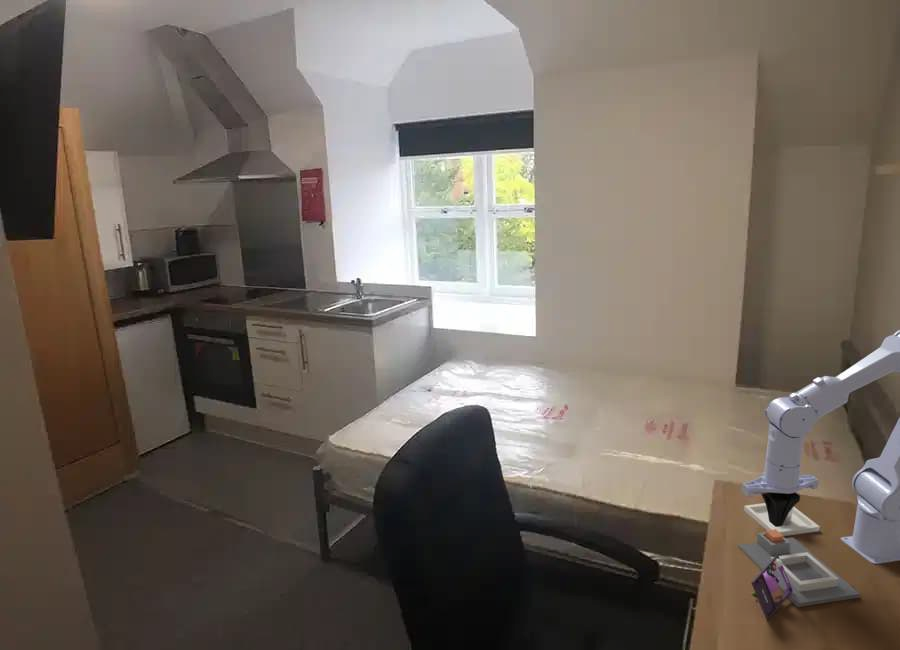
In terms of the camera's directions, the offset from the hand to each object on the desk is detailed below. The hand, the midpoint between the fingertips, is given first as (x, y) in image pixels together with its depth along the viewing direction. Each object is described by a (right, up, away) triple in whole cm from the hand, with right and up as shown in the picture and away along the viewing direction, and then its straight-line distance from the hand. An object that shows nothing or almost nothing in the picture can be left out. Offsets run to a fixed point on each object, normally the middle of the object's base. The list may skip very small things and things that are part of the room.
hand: (775, 523), depth 113 cm
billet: (+7, -3, +11) cm, 13 cm away
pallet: (+1, -7, -4) cm, 9 cm away
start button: (0, -4, +1) cm, 4 cm away
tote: (+7, -3, +11) cm, 13 cm away
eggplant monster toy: (-8, -10, -11) cm, 17 cm away
